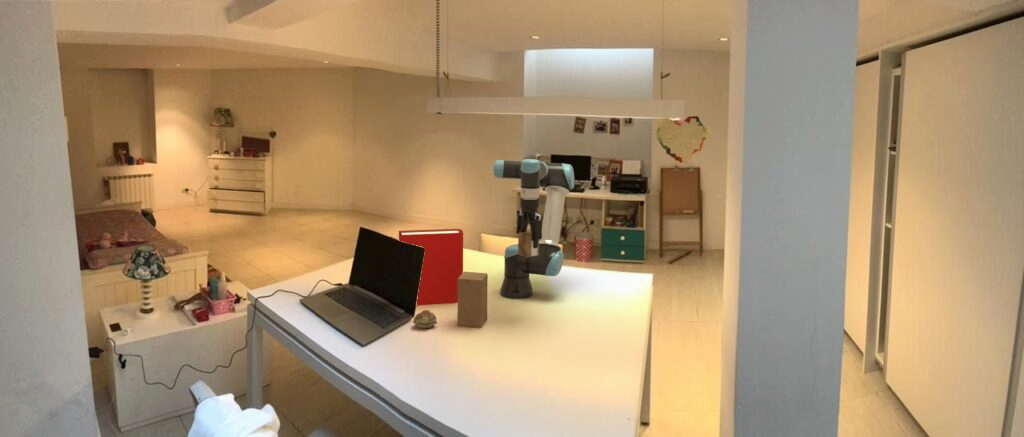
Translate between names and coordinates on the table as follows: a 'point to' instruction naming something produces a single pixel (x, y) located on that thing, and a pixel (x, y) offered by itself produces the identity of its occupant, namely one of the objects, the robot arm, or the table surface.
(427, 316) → the seashell
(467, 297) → the wooden block
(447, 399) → the table surface
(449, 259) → the book
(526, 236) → the walnut block
